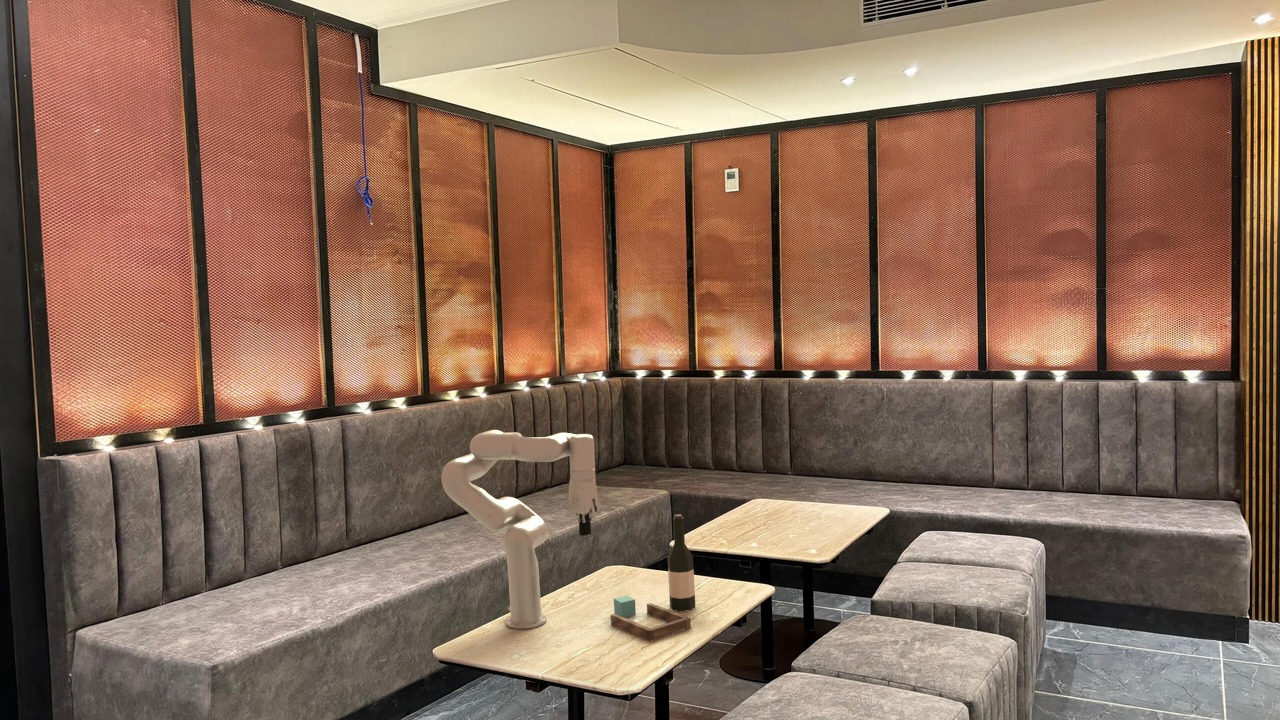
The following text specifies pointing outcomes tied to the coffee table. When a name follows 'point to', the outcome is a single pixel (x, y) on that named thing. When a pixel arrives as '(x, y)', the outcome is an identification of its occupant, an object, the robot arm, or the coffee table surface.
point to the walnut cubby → (675, 625)
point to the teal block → (624, 606)
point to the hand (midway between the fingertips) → (585, 534)
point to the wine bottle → (680, 570)
